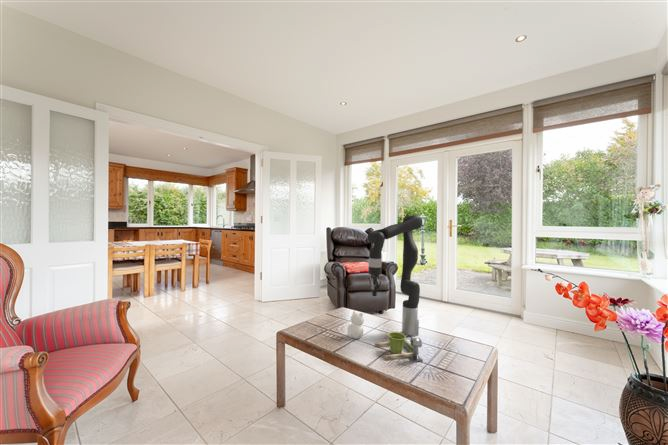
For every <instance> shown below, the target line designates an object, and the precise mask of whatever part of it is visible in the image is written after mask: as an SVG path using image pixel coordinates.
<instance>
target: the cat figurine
mask: <svg viewBox="0 0 668 445" xmlns="http://www.w3.org/2000/svg"><path fill="white" fill-rule="evenodd" d="M350 321H351V323H349V324H348V326H347V335H348V337H349V338H350V339H354V340H359V339H360V338H361V337H362V336H363V335H364V327H363V326H362V325H363V324H364V322H365V320H364V315H363V312H358V311H356V310H353V311H352V315H351V316H350Z"/></svg>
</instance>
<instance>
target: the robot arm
mask: <svg viewBox="0 0 668 445" xmlns="http://www.w3.org/2000/svg"><path fill="white" fill-rule="evenodd" d="M423 222H424V220H423V219H422V217H421V216H420V215H417V214H409V215H408V214H407V215H405V216H404V218H403V219H402V222H400V223H395V224H391V225H389V226H385V227H383V228H381V229H376V230H373V231H371V232H369V233H368V234H367V235H366V236H367V237H366V240H367V241H368V242H369V243H370V244H373V246H372V247H371V248H369V254H368V255H369V256H368V271H367V272H368V274H369V275H370V277H369V278H368V281H369V286H370V288H371V295H372V297H377V295H378V294H377V293H378V290H379V289H380V286H381V283H382V282H381V281H380V276H381V275H382V270H383V269H382V264H383V262H382V251H383V248H384V244H385V240H389V239H391V238H394V237H396V236H399V235H401V234H402V235H403V241H402V242H403V248H402V269H401V270H402V272H401V278H400V279H401V280H400V292H401V293H402V294H403V295H407V296H408V297H407V299H405V300H403V301H402V312H401V314H402V319H401V323H402V325H401V333H402V334H404V335H405V336H407V335H413V337H416V336H419V335H420V334H419V330H420V329H419V328H420V327H419V325H420V320H419V318H418V316H419V315H418V314H419V313H418V311H419V310H418V309H419V308H418V307H419V304H420V292H421V290H420V289H421V288H420V287H421V286H420V284H419V283H418V282H417V281H412V280H411V278H412V277H411V275H412V272H413V270H414V268H415V267H416V264H417V263H418V259H419V249H418V247H417V244H416V242H415V240H414V237H413V236H414V235H413V233H414V232H413V231H414V230H415V231H416V230H419V229H420V228H422V226H423Z"/></svg>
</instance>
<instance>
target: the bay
mask: <svg viewBox="0 0 668 445" xmlns="http://www.w3.org/2000/svg"><path fill="white" fill-rule="evenodd" d="M374 347H375V348H383V347H384V348H385V347H390V341H384V342H375V343H374ZM403 347H405V348H406V349H407V351H409V352H406V353H404V352H403V353H401V354H394V353H392V354H386V355H385V360H386V361H391V360H400V359H410V358H409V356H413V347H412V346H411V344H410V342H409V341H408V340H406V339H405V340H404V344H403ZM418 354H419V350H418Z"/></svg>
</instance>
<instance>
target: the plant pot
mask: <svg viewBox="0 0 668 445" xmlns="http://www.w3.org/2000/svg"><path fill="white" fill-rule="evenodd" d="M387 337H388V339H389V341H388V342H390V346H389V349H390V352H391V353H392V354H403V348H404V346H403V344H404V340H406V339H407V338H406V335H404V334H402V332H398V331H393V332H389V333H387Z"/></svg>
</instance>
